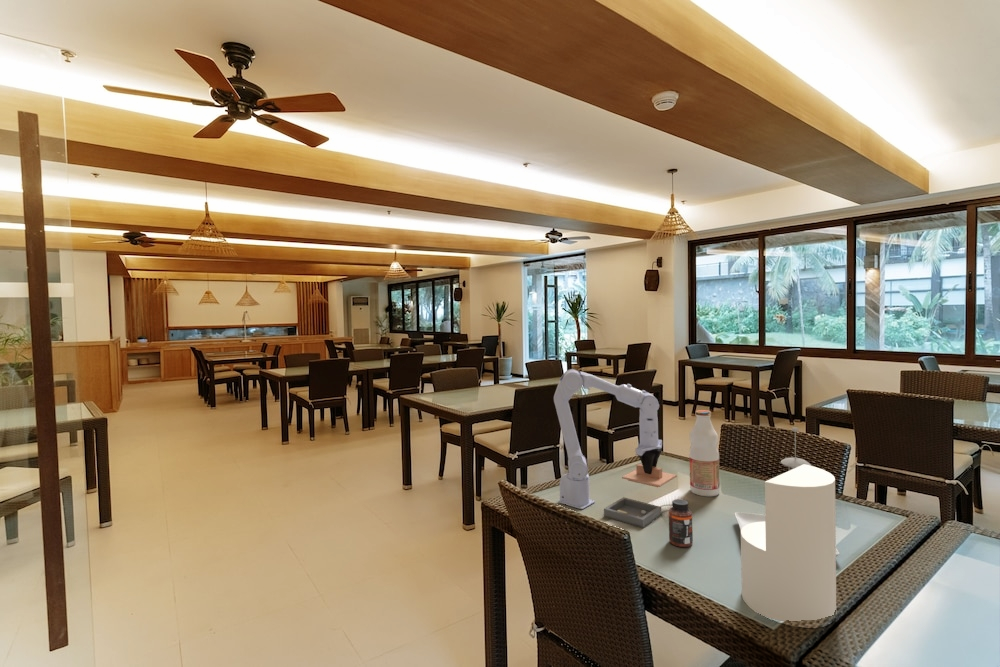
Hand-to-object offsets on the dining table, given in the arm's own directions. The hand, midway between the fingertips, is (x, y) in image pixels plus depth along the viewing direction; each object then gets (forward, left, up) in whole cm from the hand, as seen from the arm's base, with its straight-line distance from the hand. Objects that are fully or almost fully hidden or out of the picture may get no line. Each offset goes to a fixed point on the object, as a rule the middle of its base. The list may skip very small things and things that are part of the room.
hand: (649, 472), depth 158 cm
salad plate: (+38, -2, -11) cm, 40 cm away
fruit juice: (+9, +21, -11) cm, 26 cm away
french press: (+35, +27, -11) cm, 46 cm away
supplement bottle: (+18, -20, -11) cm, 29 cm away
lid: (0, 0, -2) cm, 2 cm away
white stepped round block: (+46, -32, -11) cm, 57 cm away
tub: (0, -12, -11) cm, 16 cm away
